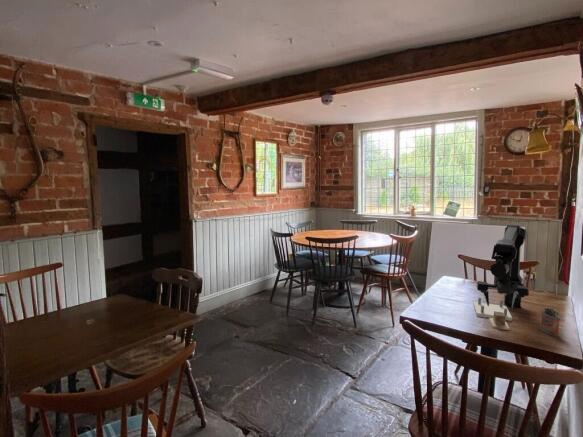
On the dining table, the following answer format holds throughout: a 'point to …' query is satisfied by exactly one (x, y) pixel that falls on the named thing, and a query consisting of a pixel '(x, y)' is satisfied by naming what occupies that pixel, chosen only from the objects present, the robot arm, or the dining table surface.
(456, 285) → the dining table surface
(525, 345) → the dining table surface
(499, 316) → the tan boxy piece
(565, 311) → the dining table surface
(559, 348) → the dining table surface
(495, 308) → the chassis
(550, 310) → the reddish grey rectangular container
